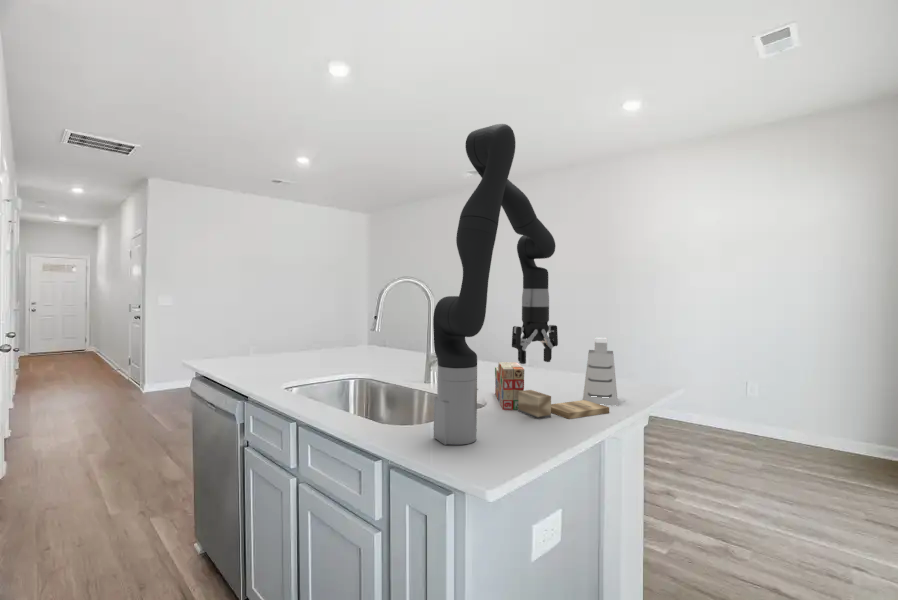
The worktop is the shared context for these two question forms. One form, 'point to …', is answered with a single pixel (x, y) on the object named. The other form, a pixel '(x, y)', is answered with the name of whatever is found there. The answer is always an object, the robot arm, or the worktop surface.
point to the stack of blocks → (509, 384)
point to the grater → (600, 375)
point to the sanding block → (534, 404)
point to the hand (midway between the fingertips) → (535, 362)
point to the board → (578, 409)
